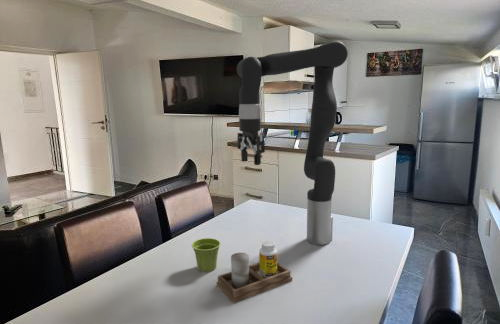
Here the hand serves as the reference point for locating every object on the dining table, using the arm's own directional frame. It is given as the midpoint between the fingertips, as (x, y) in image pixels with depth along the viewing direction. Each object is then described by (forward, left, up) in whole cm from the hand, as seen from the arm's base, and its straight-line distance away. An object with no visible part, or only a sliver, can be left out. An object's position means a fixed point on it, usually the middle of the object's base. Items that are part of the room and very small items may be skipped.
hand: (250, 163), depth 120 cm
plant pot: (+20, +3, -33) cm, 39 cm away
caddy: (+12, +20, -33) cm, 40 cm away
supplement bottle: (+7, +20, -32) cm, 38 cm away
